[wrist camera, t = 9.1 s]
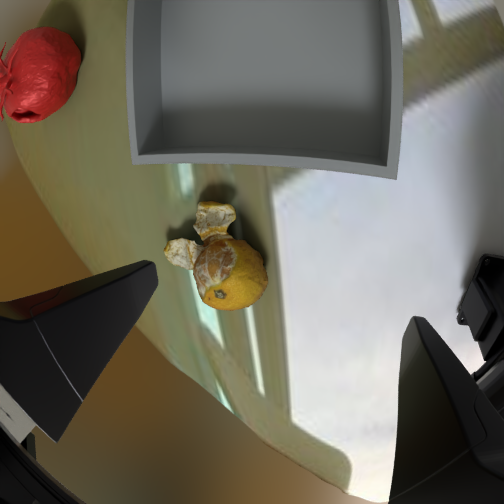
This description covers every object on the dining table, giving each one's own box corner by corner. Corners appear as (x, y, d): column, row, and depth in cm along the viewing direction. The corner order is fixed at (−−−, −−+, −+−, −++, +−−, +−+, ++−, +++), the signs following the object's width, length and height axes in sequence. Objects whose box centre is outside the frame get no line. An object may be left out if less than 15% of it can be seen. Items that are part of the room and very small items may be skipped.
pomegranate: (60, 18, 16) (-11, 19, 9) (106, 45, 17) (17, 45, 9) (31, 93, 22) (-34, 109, 14) (68, 133, 23) (-8, 158, 15)
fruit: (215, 185, 20) (193, 204, 17) (297, 262, 22) (290, 292, 19) (161, 250, 25) (139, 274, 21) (231, 311, 26) (217, 339, 23)
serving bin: (378, -47, 9) (383, -74, 5) (386, 165, 16) (396, 179, 13) (163, -26, 13) (132, -40, 10) (164, 153, 21) (132, 164, 17)
